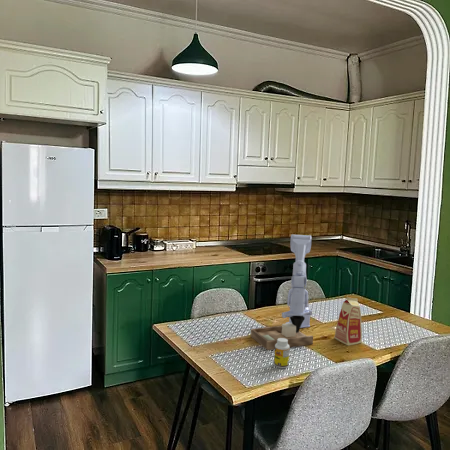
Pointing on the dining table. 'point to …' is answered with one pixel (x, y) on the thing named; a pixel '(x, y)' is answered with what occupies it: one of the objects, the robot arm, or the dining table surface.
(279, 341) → the supplement bottle
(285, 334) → the block
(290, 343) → the tray
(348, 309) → the milk carton
